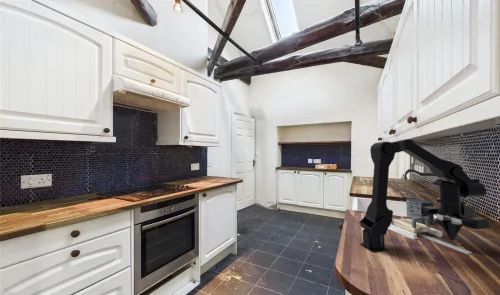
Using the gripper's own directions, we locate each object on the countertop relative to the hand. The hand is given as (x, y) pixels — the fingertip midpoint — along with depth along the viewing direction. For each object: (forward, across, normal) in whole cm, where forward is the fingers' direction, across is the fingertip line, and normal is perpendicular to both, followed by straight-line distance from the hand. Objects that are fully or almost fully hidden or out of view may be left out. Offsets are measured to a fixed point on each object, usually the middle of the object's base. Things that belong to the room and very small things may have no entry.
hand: (452, 239), depth 76 cm
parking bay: (+3, +9, 0) cm, 10 cm away
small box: (+3, +28, -18) cm, 33 cm away
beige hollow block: (+3, +16, 0) cm, 16 cm away
